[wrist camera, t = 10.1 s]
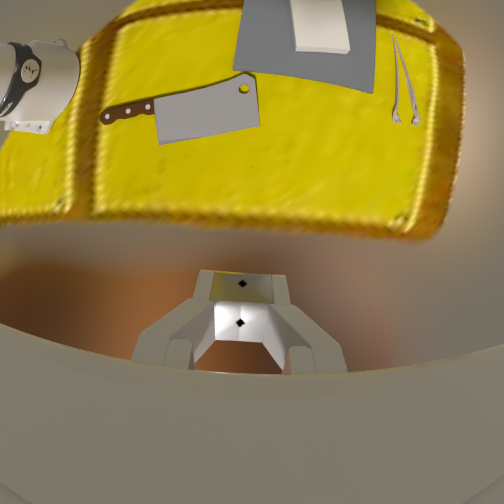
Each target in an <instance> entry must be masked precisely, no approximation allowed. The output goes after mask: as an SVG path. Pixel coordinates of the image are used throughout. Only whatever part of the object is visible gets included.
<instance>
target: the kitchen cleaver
mask: <svg viewBox="0 0 504 504" xmlns="http://www.w3.org/2000/svg"><path fill="white" fill-rule="evenodd" d="M242 85H247V86H249V91H248V92H247V93H246V94H242V93H240V92H239V88H240V86H242ZM139 114H146V115H151V114H154V115H155V121H156V127H157V134H158V140H159V145H163V144H168V143H173V142H179V141H184V140H190V139H196V138H202V137H208V136H213V135H218V134H222V133H227V132H232V131H237V130H242V129H247V128H252V127H257V126H260V120H259V111H258V102H257V93H256V85H255V79H254V78H252V77H250V76H249V75H247V74H245V73H244V74H242V75H240V76H237V77H235V78H233V79H231V80H229V81H226V82H222V83H219V84H216V85H213V86H210V87H206V88H203V89H198V90H194V91H190V92H186V93H181V94H176V95H171V96H166V97H161V98H157V99H150V100H145V101H140V102H136V103H132V104H127V105H123V106H119V107H116V108H112V109H108V110H105V111H103V112H102V113H101V114H100V121H101V122H102V123H103V124H105V125H108V124H112V123H113V122H114V121H115V120H117V119H127V118H131V117H135V116H137V115H139Z"/></svg>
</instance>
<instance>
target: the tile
mask: <svg viewBox="0 0 504 504" xmlns="http://www.w3.org/2000/svg"><path fill="white" fill-rule="evenodd" d="M289 4H290V11H291V19H292V27H293V35H294V44H295V51H304V52H326V53H339V54H347V53H348V52H349V51H350V44H349V38H348V32H347V26H346V21H345V16H344V11H343V6H342V1H341V0H289Z"/></svg>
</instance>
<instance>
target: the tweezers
mask: <svg viewBox="0 0 504 504" xmlns="http://www.w3.org/2000/svg"><path fill="white" fill-rule="evenodd" d="M392 37H393V34H392ZM395 38H396V37H395ZM396 42H397V40H396ZM393 45H394V53H395V67H396V95H395V107H394V112H393V122H395V123H401V121H400V119H399V117H398V115H397V110H398V101H399V79H398V78H399V77H398V61H397V54H396V48H395V43H394V38H393ZM397 48H398V52H399V54H400V58H401V61H402V64H403V68H404V71H405V75H406V79H407V86H408V91H409V95H410V100H411V104H412V109H413V115H414V119H413V122H412V125H416V126H417V125H418V124H419V122H420V116H419V114H418V109H417V104H416V98H415V94H414V90H413V87H412V84H411V81H410V78H409V75H408V72H407V69H406V66H405V63H404V60H403V57H402V54H401V51H400V48H399V46H398V43H397ZM414 104H415V105H416V109H415V107H414Z"/></svg>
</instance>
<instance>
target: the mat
mask: <svg viewBox="0 0 504 504" xmlns="http://www.w3.org/2000/svg"><path fill="white" fill-rule="evenodd" d="M341 1H342V6H343V11H344V16H345V21H346V26H347V32H348V38H349V44H350V51H349V52H348V53H347V54H339V53H326V52H304V51H295V44H294V35H293V27H292V19H291V11H290V4H289V0H244V5H243V10H242V16H241V22H240V27H239V33H238V40H237V46H236V52H235V59H234V65H233V70H234V71H245V72H257V73H267V74H276V75H284V76H291V77H297V78H303V79H309V80H315V81H320V82H325V83H330V84H334V85H339V86H343V87H347V88H351V89H355V90H359V91H362V92H366V93H370V94H372V93H373V87H374V72H375V49H376V6H375V0H341Z"/></svg>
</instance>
